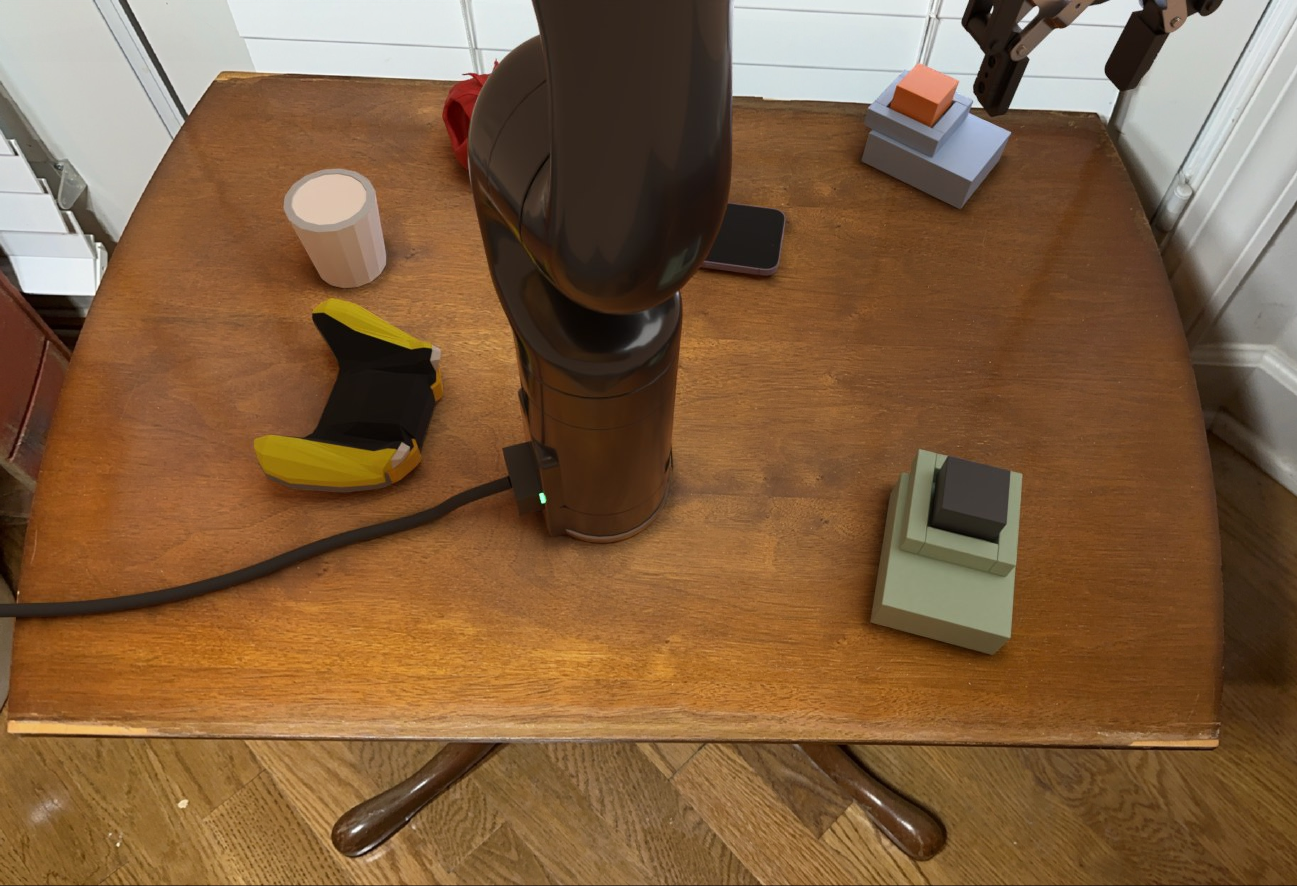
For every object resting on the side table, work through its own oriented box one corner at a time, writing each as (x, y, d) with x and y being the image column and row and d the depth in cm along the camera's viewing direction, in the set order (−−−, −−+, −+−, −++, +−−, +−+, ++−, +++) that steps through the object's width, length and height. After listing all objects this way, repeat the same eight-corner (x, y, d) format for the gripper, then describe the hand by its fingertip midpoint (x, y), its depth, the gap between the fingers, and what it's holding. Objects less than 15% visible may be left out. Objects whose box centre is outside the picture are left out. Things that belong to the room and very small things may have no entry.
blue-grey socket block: (999, 160, 84) (1019, 115, 80) (960, 209, 81) (979, 165, 76) (893, 111, 87) (907, 65, 83) (851, 157, 84) (864, 111, 80)
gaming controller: (265, 500, 64) (404, 521, 63) (236, 459, 59) (387, 482, 58) (336, 333, 72) (461, 350, 71) (316, 285, 67) (450, 303, 66)
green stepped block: (992, 655, 59) (1021, 627, 55) (869, 622, 60) (889, 593, 56) (1004, 510, 65) (1031, 475, 61) (891, 483, 66) (910, 446, 61)
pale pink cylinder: (386, 224, 78) (367, 159, 72) (401, 283, 74) (382, 220, 68) (304, 242, 76) (277, 177, 71) (315, 302, 73) (288, 239, 67)
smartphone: (615, 187, 80) (787, 209, 78) (615, 197, 81) (785, 219, 79) (597, 247, 76) (777, 272, 74) (598, 257, 77) (776, 281, 75)
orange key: (950, 105, 81) (959, 80, 79) (929, 129, 79) (938, 104, 77) (910, 87, 82) (918, 62, 80) (888, 110, 80) (896, 85, 78)
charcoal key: (992, 542, 58) (1007, 524, 56) (929, 526, 59) (941, 508, 57) (997, 489, 60) (1011, 470, 58) (936, 474, 61) (948, 455, 59)
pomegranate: (492, 107, 86) (479, 15, 78) (582, 144, 84) (578, 54, 76) (428, 169, 81) (407, 78, 74) (521, 210, 79) (510, 121, 71)
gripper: (1296, -294, 41) (1125, 35, 55) (1016, -263, 38) (910, 74, 52) (1416, -218, 37) (1200, 115, 51) (1114, -178, 35) (972, 161, 49)
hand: (1053, 94), depth 52 cm, fingers open, 8 cm apart
